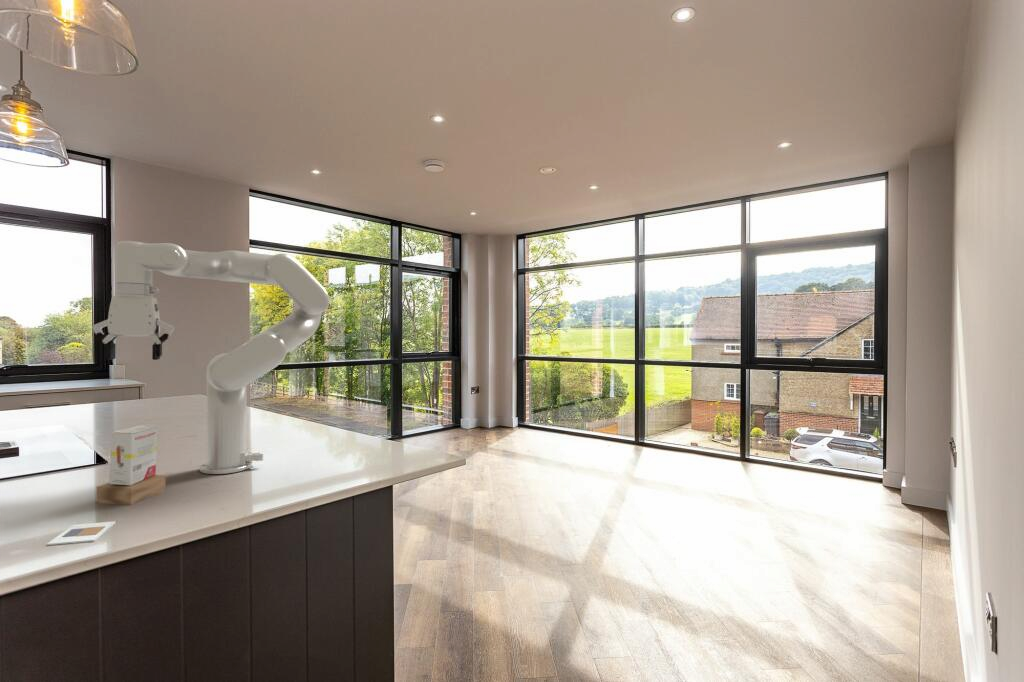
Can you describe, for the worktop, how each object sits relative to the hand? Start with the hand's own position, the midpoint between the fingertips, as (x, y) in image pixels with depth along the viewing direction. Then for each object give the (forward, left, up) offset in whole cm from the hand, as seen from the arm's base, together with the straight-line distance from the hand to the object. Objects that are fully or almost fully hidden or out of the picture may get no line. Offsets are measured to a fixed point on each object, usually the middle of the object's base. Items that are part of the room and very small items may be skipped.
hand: (133, 359), depth 129 cm
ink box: (-5, +15, -27) cm, 31 cm away
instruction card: (-5, +37, -30) cm, 48 cm away
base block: (-5, +15, -31) cm, 35 cm away
